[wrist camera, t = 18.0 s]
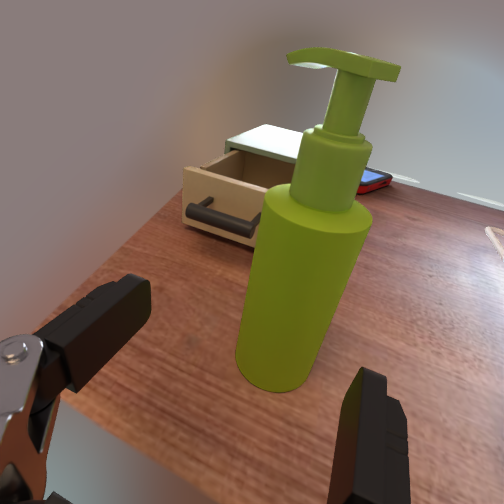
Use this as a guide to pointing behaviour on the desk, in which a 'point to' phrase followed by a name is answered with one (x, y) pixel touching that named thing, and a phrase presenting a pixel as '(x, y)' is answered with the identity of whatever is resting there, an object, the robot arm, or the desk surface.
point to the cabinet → (268, 143)
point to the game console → (373, 180)
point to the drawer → (231, 193)
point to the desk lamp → (498, 246)
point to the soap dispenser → (310, 231)
